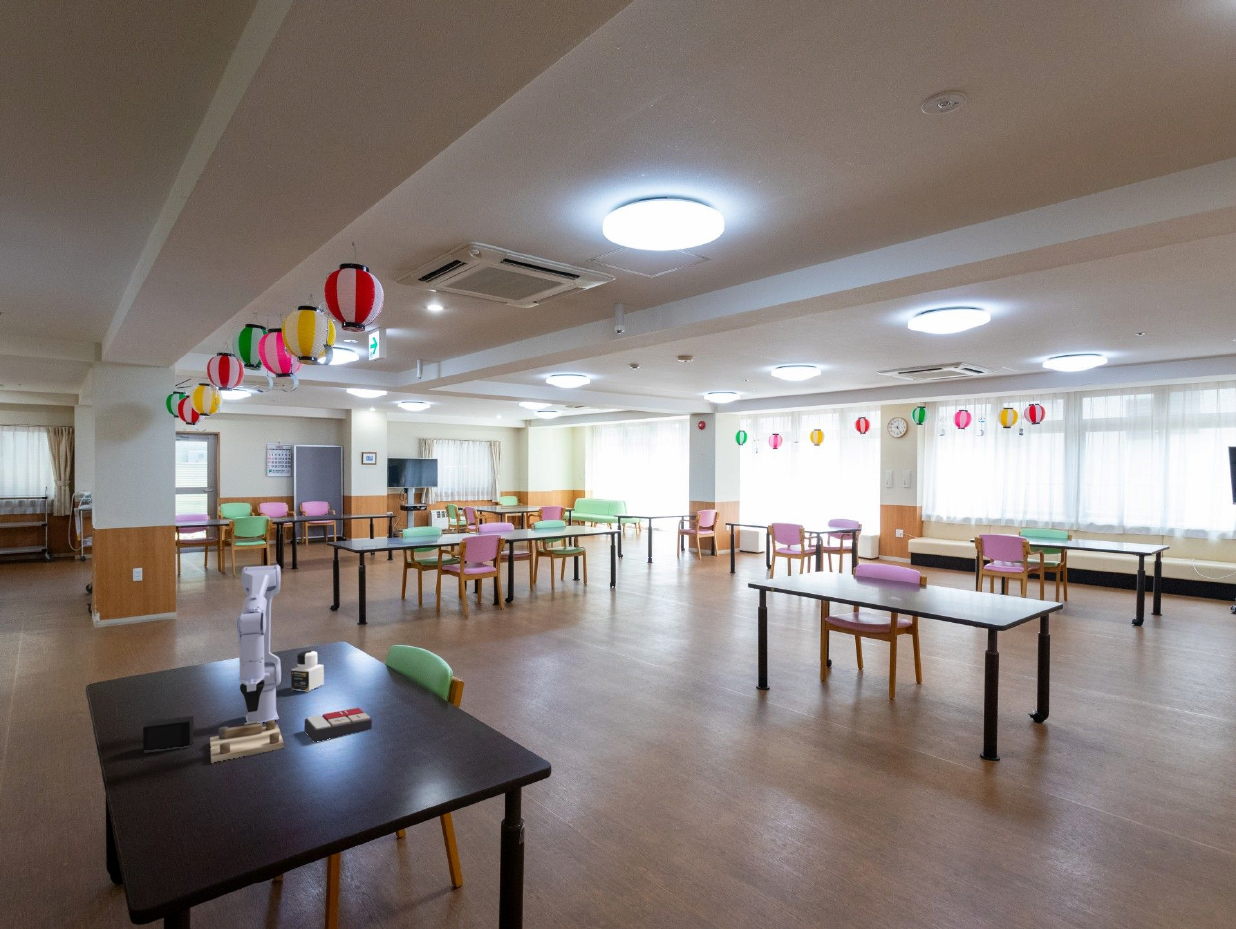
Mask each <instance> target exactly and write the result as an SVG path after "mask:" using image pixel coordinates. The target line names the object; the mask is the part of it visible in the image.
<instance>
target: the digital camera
mask: <svg viewBox="0 0 1236 929" xmlns="http://www.w3.org/2000/svg"><path fill="white" fill-rule="evenodd" d="M194 721H195V720H194V715H192V716H183V717H181V716H180V717H174V718H166V719H164V718H159V719H156V720H149V721H147V722H146V724H145V725H144V726H143V728H142V743H143V746H142V747H143V750H154V749H167V748H173V747H184V746H188V745H191V743H192V741H193V740H194V739H195V737H194V736H195V735H194V734H195V732H194V730H195V729H194V727H195V726H194V724H195V723H194ZM191 746H192V745H191ZM143 750H142V751H143Z"/></svg>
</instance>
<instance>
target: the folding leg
mask: <svg viewBox="0 0 1236 929" xmlns="http://www.w3.org/2000/svg"><path fill="white" fill-rule="evenodd" d="M262 727H263V723H260V724H253V725H246V726H245V725H241V726H232V727H229V726H222V727H221V726H220V727H219V728H218V736H219V739H226V738H233V737H240V736H246V735H253V734H260V733H262V731H263V730H262Z"/></svg>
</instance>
